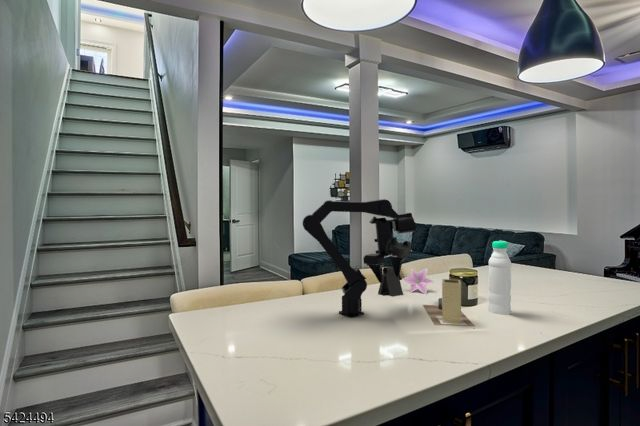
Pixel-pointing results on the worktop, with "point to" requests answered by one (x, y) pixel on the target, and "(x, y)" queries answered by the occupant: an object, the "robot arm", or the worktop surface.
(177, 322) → the worktop surface
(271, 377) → the worktop surface
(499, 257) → the water bottle
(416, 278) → the lily
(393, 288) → the phone stand
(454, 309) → the sleeve
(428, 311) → the shaft board
